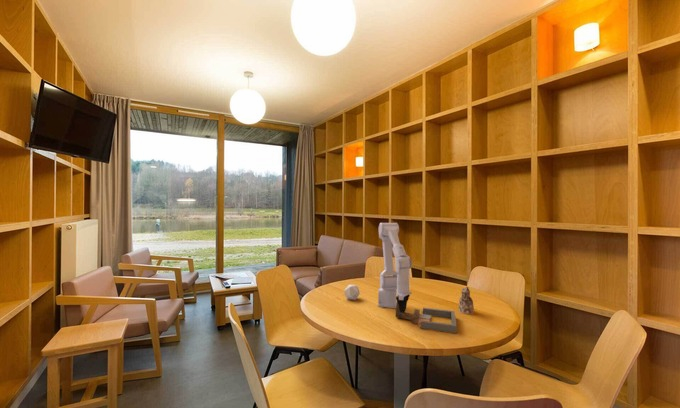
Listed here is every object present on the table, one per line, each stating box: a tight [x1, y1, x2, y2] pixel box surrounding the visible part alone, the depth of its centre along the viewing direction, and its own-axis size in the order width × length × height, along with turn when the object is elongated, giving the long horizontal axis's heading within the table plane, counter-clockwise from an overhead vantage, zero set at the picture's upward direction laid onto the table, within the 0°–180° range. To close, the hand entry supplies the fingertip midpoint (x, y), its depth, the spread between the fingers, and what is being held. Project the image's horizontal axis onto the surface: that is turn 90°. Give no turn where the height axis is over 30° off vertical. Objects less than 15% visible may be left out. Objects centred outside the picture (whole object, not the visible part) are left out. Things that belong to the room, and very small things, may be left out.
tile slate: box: [419, 313, 431, 321], centre depth 139 cm, size 5×5×2 cm
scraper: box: [395, 301, 421, 326], centre depth 139 cm, size 10×11×9 cm
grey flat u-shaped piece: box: [420, 307, 458, 334], centre depth 134 cm, size 14×19×3 cm
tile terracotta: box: [418, 318, 431, 326], centre depth 133 cm, size 5×5×2 cm
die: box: [343, 284, 361, 301], centre depth 168 cm, size 8×9×10 cm
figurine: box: [457, 286, 475, 315], centre depth 149 cm, size 7×7×12 cm
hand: (402, 311), depth 139 cm, fingers closed on scraper, 3 cm apart
